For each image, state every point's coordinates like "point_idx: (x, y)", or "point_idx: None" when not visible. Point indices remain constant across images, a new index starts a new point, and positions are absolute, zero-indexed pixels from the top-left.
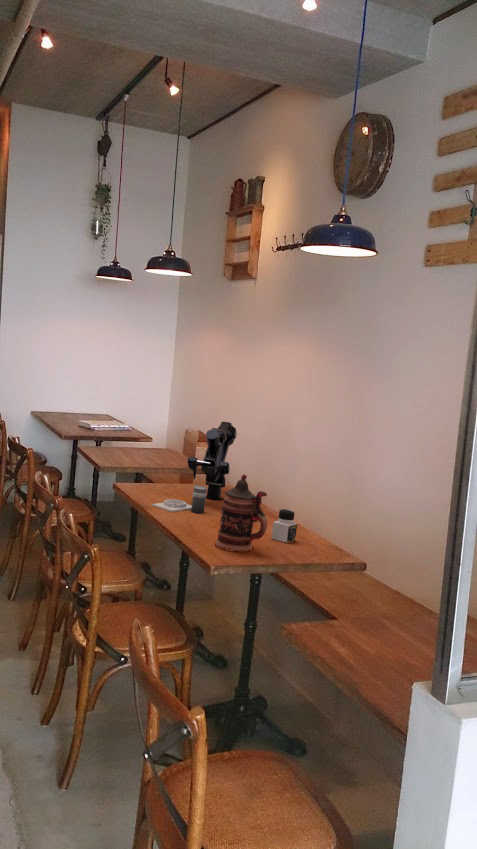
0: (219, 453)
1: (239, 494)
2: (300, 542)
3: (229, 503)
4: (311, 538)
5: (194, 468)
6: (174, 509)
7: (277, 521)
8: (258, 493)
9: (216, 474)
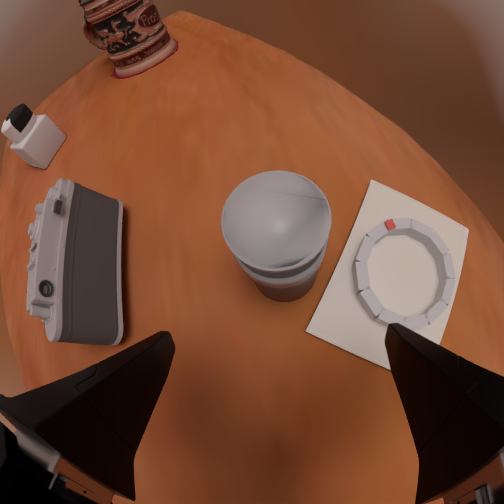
0: None
1: None
2: None
3: None
4: (4, 208)
5: (461, 372)
6: (371, 200)
7: (38, 118)
8: None
9: (117, 362)
